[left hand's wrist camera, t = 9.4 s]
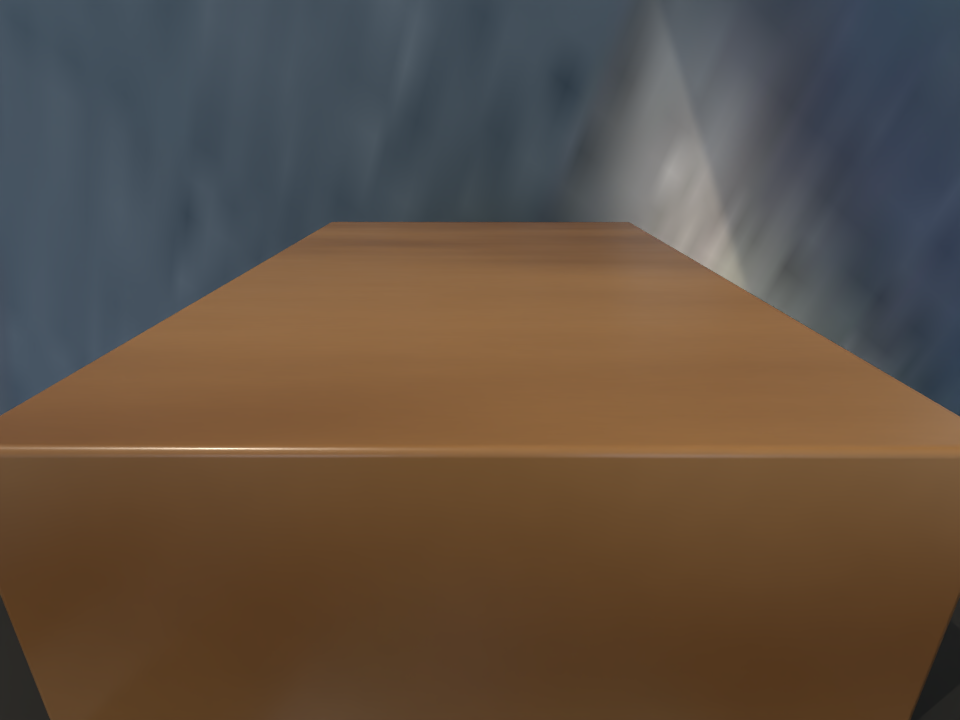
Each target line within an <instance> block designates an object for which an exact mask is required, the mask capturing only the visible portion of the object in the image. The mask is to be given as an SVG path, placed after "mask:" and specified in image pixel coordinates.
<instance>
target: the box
mask: <svg viewBox="0 0 960 720" xmlns="http://www.w3.org/2000/svg"><path fill="white" fill-rule="evenodd" d="M0 595H1V598H2V600H3V603H4V605H5V608H6V610H7V613H8V615H9V618H10V620H11V623H12V625H13V628H14V630H15V633H16V635H17V638H18V640H19V643H20V645H21V648H22V650H23V653H24V655H25V658H26V660H27V663H28V665H29V668H30V670H31V673H32V675H33V678H34V680H35V683H36V685H37V688H38V690H39V693H40V695H41V698H42V700H43V703H44V705H45V708H46V710H47V713H48V715H49V718H50V720H911V717H912V715H913V712H914V710H915V707H916V705H917V702H918V700H919V697H920V695H921V692H922V690H923V687H924V685H925V682H926V680H927V677H928V675H929V672H930V670H931V667H932V665H933V662H934V660H935V657H936V655H937V652H938V650H939V647H940V645H941V642H942V640H943V637H944V635H945V632H946V630H947V627H948V625H949V622H950V620H951V617H952V615H953V612H954V610H955V608H956V605H957V603H958V600H959V598H960V416H958V415H956V414H955V413H953V412H951V411H950V410H948V409H946V408H944V407H943V406H941V405H939V404H938V403H936V402H934V401H932V400H931V399H929V398H927V397H926V396H924V395H922V394H921V393H919V392H917V391H915V390H914V389H912V388H910V387H909V386H907V385H905V384H904V383H902V382H900V381H898V380H897V379H895V378H893V377H892V376H890V375H888V374H887V373H885V372H883V371H881V370H880V369H878V368H876V367H875V366H873V365H871V364H870V363H868V362H866V361H864V360H863V359H861V358H859V357H858V356H856V355H854V354H853V353H851V352H849V351H847V350H846V349H844V348H842V347H841V346H839V345H837V344H835V343H834V342H832V341H830V340H829V339H827V338H825V337H824V336H822V335H820V334H818V333H817V332H815V331H813V330H812V329H810V328H808V327H807V326H805V325H803V324H801V323H800V322H798V321H796V320H795V319H793V318H791V317H790V316H788V315H786V314H784V313H783V312H781V311H779V310H778V309H776V308H774V307H773V306H771V305H769V304H767V303H766V302H764V301H762V300H761V299H759V298H757V297H756V296H754V295H752V294H750V293H749V292H747V291H745V290H744V289H742V288H740V287H738V286H737V285H735V284H733V283H732V282H730V281H728V280H727V279H725V278H723V277H721V276H720V275H718V274H716V273H715V272H713V271H711V270H710V269H708V268H706V267H704V266H703V265H701V264H699V263H698V262H696V261H694V260H693V259H691V258H689V257H687V256H686V255H684V254H682V253H681V252H679V251H677V250H676V249H674V248H672V247H670V246H669V245H667V244H665V243H664V242H662V241H660V240H659V239H657V238H655V237H653V236H652V235H650V234H648V233H647V232H645V231H643V230H641V229H640V228H638V227H636V226H635V225H633V224H631V223H629V222H331V223H329V224H328V225H326V226H324V227H323V228H321V229H319V230H317V231H316V232H314V233H312V234H311V235H309V236H307V237H305V238H304V239H302V240H300V241H299V242H297V243H295V244H293V245H292V246H290V247H288V248H287V249H285V250H283V251H282V252H280V253H278V254H276V255H275V256H273V257H271V258H270V259H268V260H266V261H264V262H263V263H261V264H259V265H258V266H256V267H254V268H252V269H251V270H249V271H247V272H246V273H244V274H242V275H240V276H239V277H237V278H235V279H234V280H232V281H230V282H228V283H227V284H225V285H223V286H222V287H220V288H218V289H216V290H215V291H213V292H211V293H210V294H208V295H206V296H205V297H203V298H201V299H199V300H198V301H196V302H194V303H193V304H191V305H189V306H187V307H186V308H184V309H182V310H181V311H179V312H177V313H175V314H174V315H172V316H170V317H169V318H167V319H165V320H163V321H162V322H160V323H158V324H157V325H155V326H153V327H151V328H150V329H148V330H146V331H145V332H143V333H141V334H139V335H138V336H136V337H134V338H133V339H131V340H129V341H127V342H126V343H124V344H122V345H121V346H119V347H117V348H116V349H114V350H112V351H110V352H109V353H107V354H105V355H104V356H102V357H100V358H98V359H97V360H95V361H93V362H92V363H90V364H88V365H86V366H85V367H83V368H81V369H80V370H78V371H76V372H74V373H73V374H71V375H69V376H68V377H66V378H64V379H62V380H61V381H59V382H57V383H56V384H54V385H52V386H50V387H49V388H47V389H45V390H44V391H42V392H40V393H39V394H37V395H35V396H33V397H32V398H30V399H28V400H27V401H25V402H23V403H21V404H20V405H18V406H16V407H15V408H13V409H11V410H9V411H8V412H6V413H4V414H3V415H1V416H0Z"/></svg>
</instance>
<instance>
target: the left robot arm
mask: <svg viewBox="0 0 960 720" xmlns="http://www.w3.org/2000/svg"><path fill="white" fill-rule="evenodd" d="M0 720H50V718H49V715H48V713H47V710H46V708H45V705H44V703H43V700H42V698H41V695H40V693H39V690H38V688H37V685H36V683H35V680H34V678H33V675H32V673H31V670H30V668H29V665H28V663H27V660H26V658H25V655H24V653H23V650H22V648H21V645H20V643H19V640H18V638H17V635H16V633H15V630H14V628H13V625H12V623H11V620H10V618H9V615H8V613H7V610H6V608H5V605H4V603H3V600H2V598H1V595H0ZM911 720H960V598H959V600H958V603H957V605H956V608H955V610H954V612H953V615H952V617H951V620H950V622H949V625H948V627H947V630H946V632H945V635H944V637H943V640H942V642H941V645H940V647H939V650H938V652H937V655H936V657H935V660H934V662H933V665H932V667H931V670H930V672H929V675H928V677H927V680H926V682H925V685H924V687H923V690H922V692H921V695H920V697H919V700H918V702H917V705H916V707H915V710H914V712H913V715H912V717H911Z"/></svg>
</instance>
